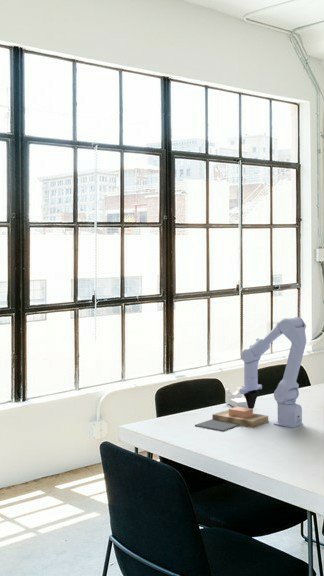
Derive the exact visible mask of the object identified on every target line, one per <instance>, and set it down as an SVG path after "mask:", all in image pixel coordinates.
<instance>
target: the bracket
mask: <svg viewBox="0 0 324 576" xmlns="http://www.w3.org/2000/svg"><path fill="white" fill-rule="evenodd" d="M240 389H242V388H241V387H239V386H237V388H236V390H235V392H233V393H232V392H231V391H230V389H229V388H225V396H224V397H225V399H224V400H225V402H224V403H226V404H228V405H230V406H232V407H233V408H234V407H243V408H248V405H247V401H246V398H245V397H243V396H242V395H243V394H240ZM249 409H250V408H249Z"/></svg>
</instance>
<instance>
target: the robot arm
mask: <svg viewBox="0 0 324 576" xmlns="http://www.w3.org/2000/svg"><path fill="white" fill-rule="evenodd" d="M306 327H307V324H306V323H305V322H304V320H303V318H302V317H300V316H295V317H289V318H288V317H287V318H286V317H285V318H282V319H281V320H280V321H278V322H277V323H276V325H275V326H274V327H273V328H272V329H271V330H270V332H268V334H266V336H264V337H258V338H257V339H255V342H254V343H253V344H250V345H249V348H246V349H245V348H244V349H243V351H242V352H241V360H242V362H243V364H244V365H243V369H244V371H243V376H244V377H243V378H244V379H243V381H244V382H243V383H244V385H242V389H240V394H242V395H243V396H244V398H245V399H246V401H247V405H248V408H250V409H254V408H255V405H256V401H257V398H258V396H259V394H260V391H258V390H262V389H263V385H262V384H259V383H258V382H259V381H258V380H259V379H258V378H259V372H258V365H259V361H260V359H261V358H262V357H261V356H263V355H264V354H265V353H266V352H267V351H268V350H269V349H270V347H271V344H272V343H273V342H274V341H275V340H276V339H278V338H279V337H280V336H282V335H284V336H285V337H286V338H287V339H288V340H289V341H290V342H291V343H290V344H291V345H290V349H289V351H288V352H289V354H288V357H287V360H286V364H285V365H286V366H285V368H284V369H285V370H284V372H283V377H282V379H281V380H280V381H279V383H277V386H276V389H275V390H274V392H273V397H274V400H275V401H276V404H277V421H275V422H273V425H277V426H282V427H288V428H296V427H298V426H301V425H303V424H304V423H303V410H302V409H303V408H302V405H300V404H298V403H296V402H297V399H298V398H299V395H300V392H299V386H300V384H299V383H298V382H297V380H298V376H299V373H300V368H301V364H302V360H303V356H304V353H305V349H306V344H307V335H306Z"/></svg>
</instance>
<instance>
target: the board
mask: <svg viewBox="0 0 324 576" xmlns="http://www.w3.org/2000/svg"><path fill="white" fill-rule="evenodd" d="M229 409H230V408H228V409H225V410H221V411H218V412H216V413H213V414H212V415H211V416H212V417H211V418H212V419H213V420H219V421H225V422H230V423H236V424H240V426H241V427H242V426H243V427H248V428H255V427H258V426H261V425H264V424H266V423H268V422H269V415H264V414H259V413H255V412H253V415H251V416H248V417H245V418H244V417H238V416H232V415H229Z"/></svg>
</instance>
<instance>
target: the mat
mask: <svg viewBox="0 0 324 576" xmlns="http://www.w3.org/2000/svg"><path fill="white" fill-rule="evenodd" d="M240 426H241V425H240V424H236V423H230V422H225V421H219V420H213V419H209V420H206V421H203V422H199V423H197V424H194V427H198V428H201V429H202V428H203V429H207V428H208V429H209V430H213V431H218V430H219V432H225V430H226V431H228V429H229V430H231V429H234V428H236V427H240Z"/></svg>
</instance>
